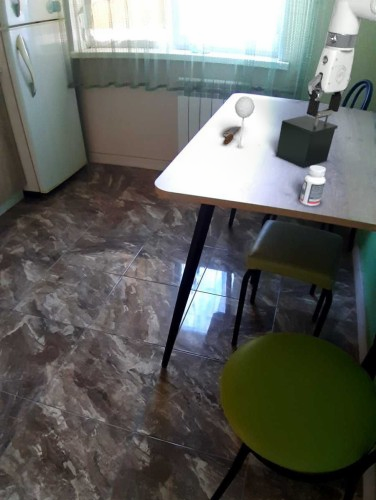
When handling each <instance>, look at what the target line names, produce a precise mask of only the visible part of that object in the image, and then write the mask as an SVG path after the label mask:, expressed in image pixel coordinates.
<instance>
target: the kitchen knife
mask: <svg viewBox="0 0 376 500" xmlns="http://www.w3.org/2000/svg"><path fill="white" fill-rule="evenodd" d="M240 129H241V126H233V127H231V128H229V129H226V130H224V131H223V132H222V136H223V137H225V138H224V140H223V144H224V145H227V144H229V143H230V142H231V141H232V140H233V139H234V135H236V133H237V132H238V131H239V130H240Z"/></svg>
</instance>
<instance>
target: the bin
mask: <svg viewBox="0 0 376 500" xmlns="http://www.w3.org/2000/svg"><path fill="white" fill-rule="evenodd" d="M279 131H280V132H279V137H278V142H277V148H276V153H275V157H276V158H279V159H281V160H283V161H285V162H288V163H290V164H293V165H294V166H297V167H299V168H302V169H305V168H310V166H312V165H319V164H321V163H324V162H327V161H328V158H329V154H330V150H331V145H332V142H333V139H334V136H335V131H336V129H334V130H330V131H326V132H322V133H318V134H314V135H312V134H309V133H306V132H304V131H301V130H298V129H296V128H293V127H290V126H287V125H285V124H282V123H281V125H280V130H279Z"/></svg>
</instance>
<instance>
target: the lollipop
mask: <svg viewBox="0 0 376 500" xmlns="http://www.w3.org/2000/svg"><path fill="white" fill-rule="evenodd" d="M234 110H235V111H234V112H235V113H236V115H237V116H238V117H239V118H242V119H241V120H242V121H241V126H240V135H239V136H240V137H239V145H238V148H241V146H242V139H243V138H242V137H243V130H244V129H243V128H244V123H245V122H244V121H245V119H247V118H249V117H251V115H252V114H253V113H254V110H255V103H254V101H253V99H252V98H250V97H249V96H241V97H240V98H239V99H237V101H236V102H235V103H234Z"/></svg>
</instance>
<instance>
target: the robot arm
mask: <svg viewBox="0 0 376 500" xmlns="http://www.w3.org/2000/svg"><path fill="white" fill-rule="evenodd" d="M362 19H365V20H367V21H371V22H375V23H376V0H334V4H333V8H332V12H331V16H330V21H329V25H328V29H327V32H326V33H327V34H326V37H325V42H324V47H323V49H322V52H321V54H320V58H319V61H318V64H317V67H316V71H315V75H314V77H313V78H312V79H310V81H308V84H307V87H308V91H307V94H308V99H309V101H308V106H307V109H306V115H307V116H310V117H313V118H315V117H316V116H317V112H318V111H319V107H320V103H321V100H320V99H321V98H322V96H323V94H324V93H325V94H331V96H330V100H329V103H328V108H331V109H332V111H333V112H334V113H337V112H339V109H340V105H341V102H342V97H343V96H344V95H345V91H346V90H347V89H348V85H349V84H350V82H351V80H352V77H351V73H352V68H353V63H354V57H355V45H356V42H357V38H358V33H359V30H360V26H361V23H362ZM317 92H318V93H317ZM328 108H327V109H328Z"/></svg>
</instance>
